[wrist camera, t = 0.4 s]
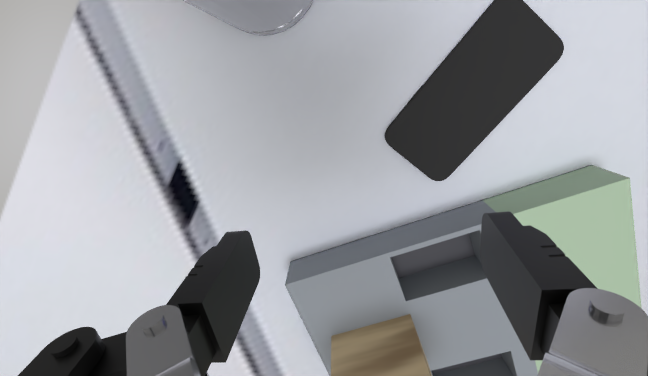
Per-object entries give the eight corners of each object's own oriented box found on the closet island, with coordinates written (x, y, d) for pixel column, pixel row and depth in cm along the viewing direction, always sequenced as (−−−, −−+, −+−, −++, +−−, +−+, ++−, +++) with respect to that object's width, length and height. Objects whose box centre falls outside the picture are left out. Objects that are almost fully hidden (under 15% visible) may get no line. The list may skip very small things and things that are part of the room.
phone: (571, 48, 26) (440, 186, 30) (564, 49, 27) (437, 184, 31) (507, -16, 25) (380, 138, 29) (502, -13, 26) (378, 136, 30)
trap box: (290, 261, 34) (285, 284, 30) (592, 165, 30) (629, 178, 26) (353, 395, 40) (355, 428, 36) (613, 330, 35) (646, 361, 32)
